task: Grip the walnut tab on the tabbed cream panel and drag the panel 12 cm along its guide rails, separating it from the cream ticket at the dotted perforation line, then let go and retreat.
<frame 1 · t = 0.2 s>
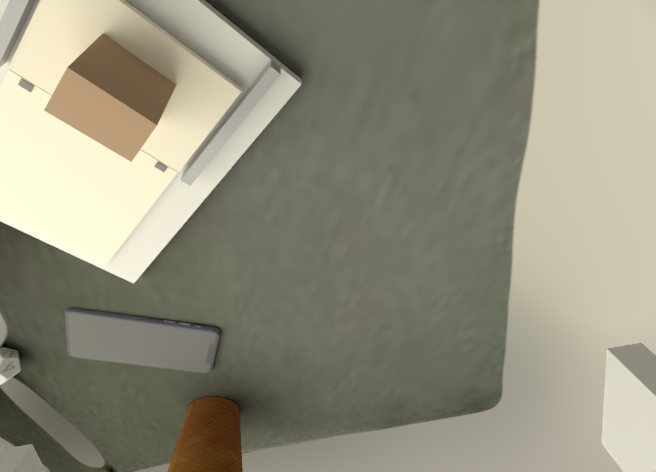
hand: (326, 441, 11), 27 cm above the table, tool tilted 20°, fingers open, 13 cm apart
game die: (9, 351, 49), on the table
tabbed cream panel: (116, 96, 28), point 5 cm above the table, slide at 0.0 cm
smartphone: (145, 336, 50), on the table
ticket board: (100, 125, 34), on the table
disposable coffee cup: (213, 409, 58), on the table
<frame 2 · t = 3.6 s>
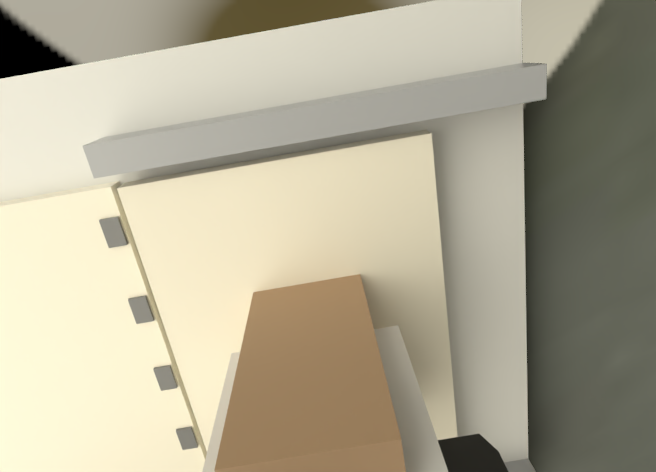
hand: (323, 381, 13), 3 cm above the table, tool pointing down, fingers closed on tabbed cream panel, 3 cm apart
tabbed cream panel: (317, 425, 11), point 5 cm above the table, slide at 0.0 cm, touching gripper
ticket board: (158, 349, 16), on the table
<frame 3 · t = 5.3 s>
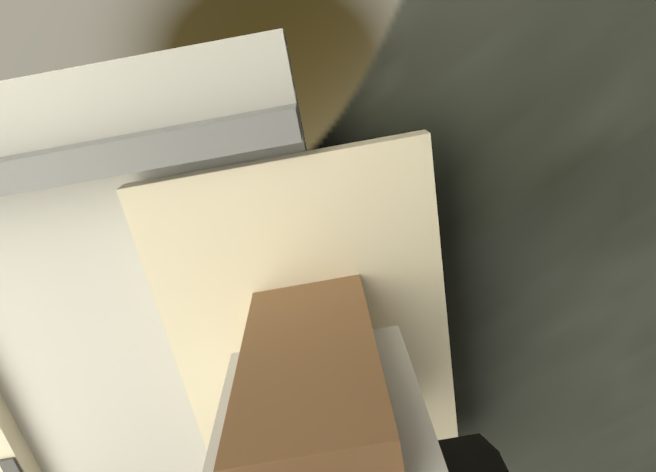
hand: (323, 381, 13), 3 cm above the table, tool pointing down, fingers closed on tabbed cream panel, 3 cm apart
tabbed cream panel: (317, 426, 11), point 5 cm above the table, slide at 5.9 cm, touching gripper
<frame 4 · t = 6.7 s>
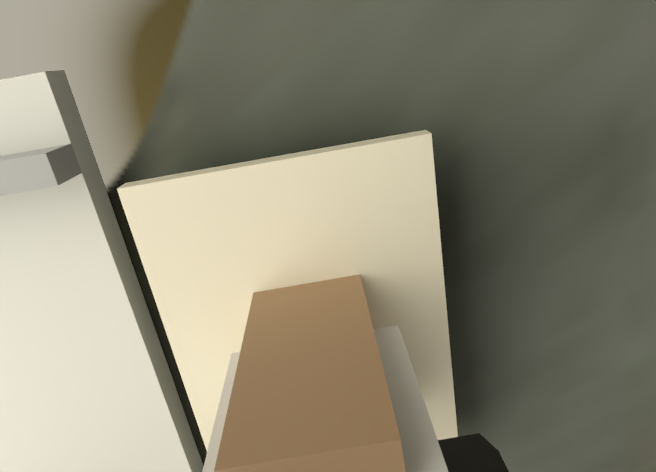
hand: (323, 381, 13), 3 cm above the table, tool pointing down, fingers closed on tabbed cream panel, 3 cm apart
tabbed cream panel: (317, 426, 11), point 5 cm above the table, slide at 11.9 cm, touching gripper
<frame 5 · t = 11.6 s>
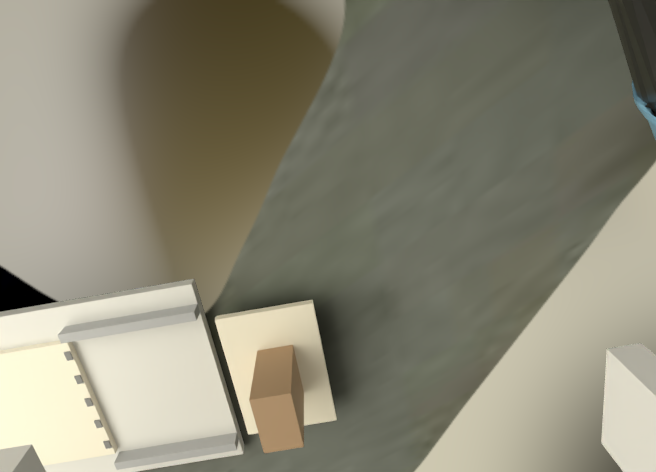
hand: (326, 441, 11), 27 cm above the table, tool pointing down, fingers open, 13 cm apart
tabbed cream panel: (277, 394, 37), point 5 cm above the table, slide at 12.0 cm
ticket board: (89, 390, 42), on the table
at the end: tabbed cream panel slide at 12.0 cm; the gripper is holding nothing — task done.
